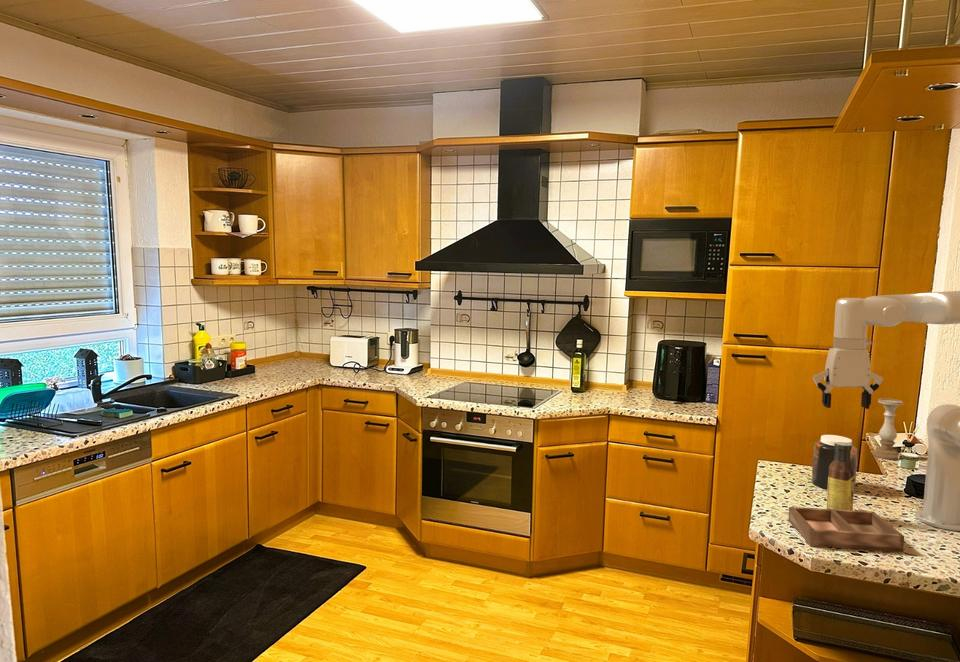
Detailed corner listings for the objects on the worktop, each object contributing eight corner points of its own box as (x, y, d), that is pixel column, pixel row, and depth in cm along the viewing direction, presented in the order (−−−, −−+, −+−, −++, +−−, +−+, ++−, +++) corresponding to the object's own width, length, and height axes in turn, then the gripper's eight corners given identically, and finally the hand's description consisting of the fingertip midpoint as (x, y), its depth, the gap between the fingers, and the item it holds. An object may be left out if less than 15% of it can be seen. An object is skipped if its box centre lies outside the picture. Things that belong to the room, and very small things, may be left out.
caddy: (872, 526, 166) (873, 511, 165) (902, 552, 151) (904, 536, 150) (788, 521, 168) (789, 506, 168) (809, 546, 153) (811, 530, 153)
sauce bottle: (855, 520, 169) (861, 448, 167) (830, 518, 171) (835, 446, 168) (846, 510, 176) (852, 441, 174) (822, 508, 177) (827, 439, 175)
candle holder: (867, 451, 232) (872, 397, 229) (894, 453, 230) (898, 398, 228) (877, 458, 223) (882, 402, 221) (905, 460, 221) (910, 404, 219)
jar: (813, 488, 193) (816, 441, 191) (809, 477, 203) (812, 431, 202) (857, 494, 188) (861, 445, 187) (851, 482, 199) (855, 435, 197)
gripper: (877, 342, 171) (873, 405, 172) (809, 342, 173) (806, 403, 175) (891, 346, 163) (887, 411, 165) (820, 345, 165) (817, 409, 167)
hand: (845, 407), depth 170 cm, fingers open, 9 cm apart
